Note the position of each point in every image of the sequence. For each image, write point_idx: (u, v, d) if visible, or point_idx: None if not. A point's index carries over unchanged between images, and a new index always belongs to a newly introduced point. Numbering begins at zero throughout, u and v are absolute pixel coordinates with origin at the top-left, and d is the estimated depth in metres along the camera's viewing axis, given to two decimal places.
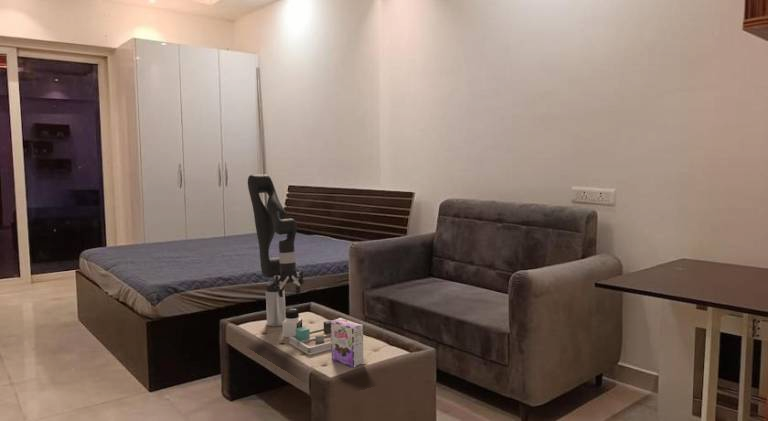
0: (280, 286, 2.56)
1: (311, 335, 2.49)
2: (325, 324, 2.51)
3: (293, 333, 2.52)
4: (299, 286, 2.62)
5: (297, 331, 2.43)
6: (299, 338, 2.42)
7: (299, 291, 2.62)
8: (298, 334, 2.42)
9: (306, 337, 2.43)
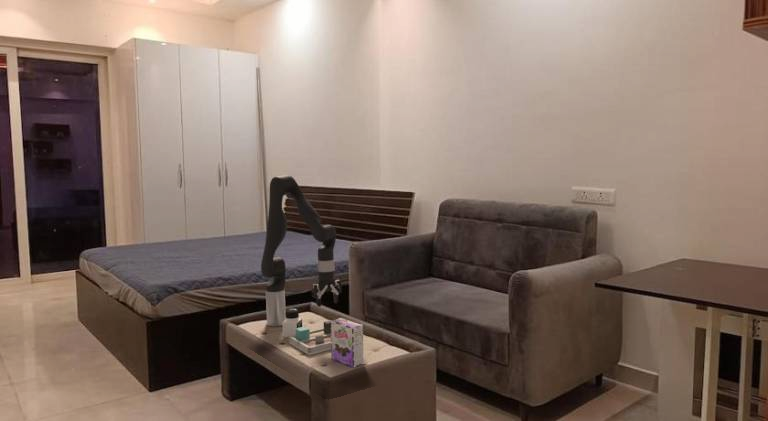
0: (319, 295, 2.46)
1: (311, 335, 2.49)
2: (325, 324, 2.51)
3: (293, 333, 2.52)
4: (337, 295, 2.52)
5: (297, 331, 2.43)
6: (299, 338, 2.42)
7: (337, 300, 2.53)
8: (298, 334, 2.42)
9: (306, 337, 2.43)
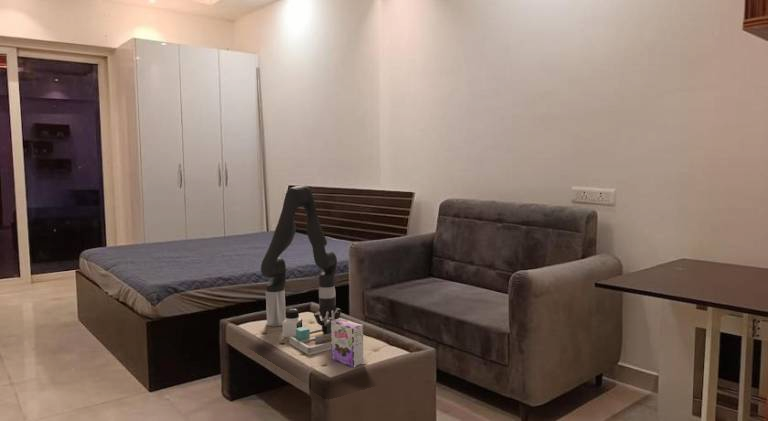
0: (324, 323, 2.49)
1: (311, 335, 2.49)
2: None
3: (293, 333, 2.52)
4: None
5: (297, 331, 2.43)
6: (299, 338, 2.42)
7: None
8: (298, 334, 2.42)
9: (306, 337, 2.43)
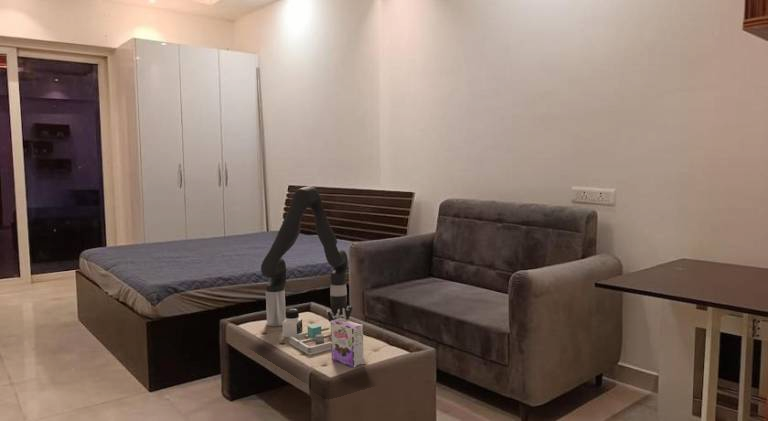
0: None
1: (323, 332, 2.52)
2: None
3: (293, 333, 2.52)
4: None
5: (309, 328, 2.47)
6: (311, 335, 2.46)
7: None
8: (310, 331, 2.46)
9: (318, 334, 2.46)
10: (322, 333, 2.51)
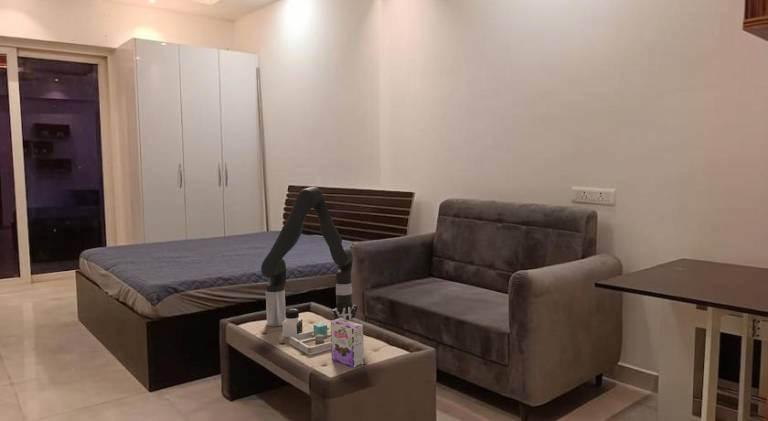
0: None
1: (328, 331, 2.54)
2: None
3: (293, 333, 2.52)
4: (350, 320, 2.58)
5: (315, 327, 2.48)
6: (317, 334, 2.47)
7: None
8: (316, 329, 2.48)
9: (324, 333, 2.48)
10: (328, 332, 2.53)
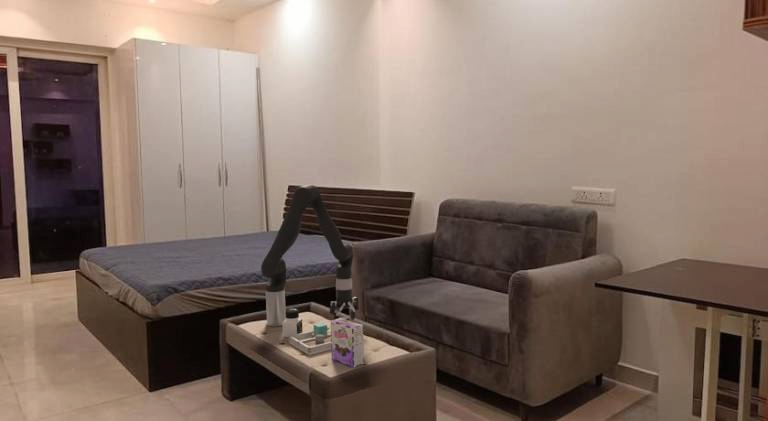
0: (336, 312, 2.53)
1: (328, 331, 2.54)
2: None
3: (293, 333, 2.52)
4: (354, 312, 2.59)
5: (315, 327, 2.48)
6: (317, 334, 2.47)
7: (354, 317, 2.59)
8: (316, 329, 2.48)
9: (324, 333, 2.48)
10: (328, 332, 2.53)
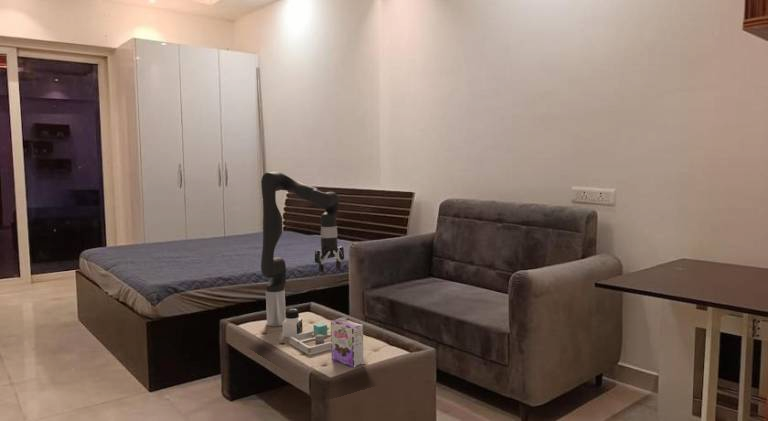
0: (321, 261, 2.49)
1: (328, 331, 2.54)
2: None
3: (293, 333, 2.52)
4: (340, 261, 2.55)
5: (315, 327, 2.48)
6: (317, 334, 2.47)
7: (340, 266, 2.56)
8: (316, 329, 2.48)
9: (324, 333, 2.48)
10: (328, 332, 2.53)
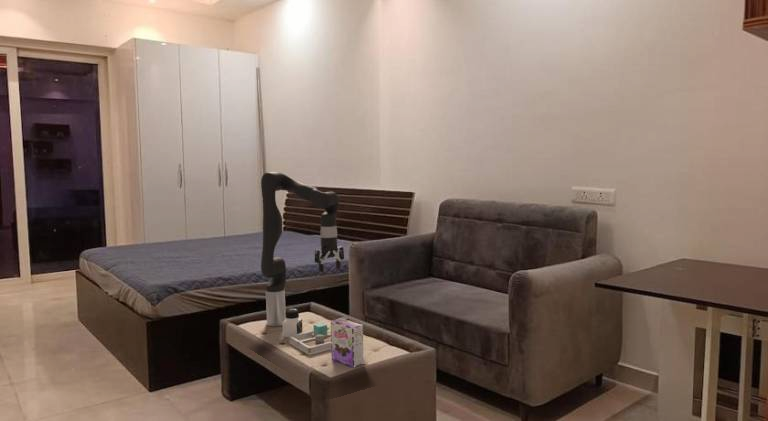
0: (321, 261, 2.49)
1: (328, 331, 2.54)
2: None
3: (293, 333, 2.52)
4: (339, 261, 2.55)
5: (315, 327, 2.48)
6: (317, 334, 2.47)
7: (339, 266, 2.56)
8: (316, 329, 2.48)
9: (324, 333, 2.48)
10: (328, 332, 2.53)
